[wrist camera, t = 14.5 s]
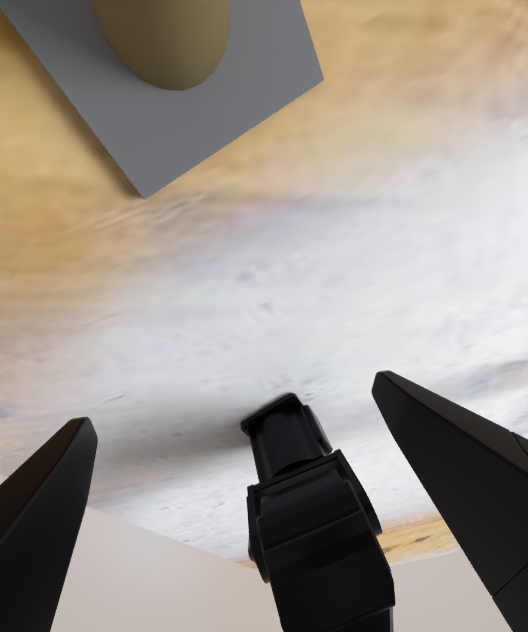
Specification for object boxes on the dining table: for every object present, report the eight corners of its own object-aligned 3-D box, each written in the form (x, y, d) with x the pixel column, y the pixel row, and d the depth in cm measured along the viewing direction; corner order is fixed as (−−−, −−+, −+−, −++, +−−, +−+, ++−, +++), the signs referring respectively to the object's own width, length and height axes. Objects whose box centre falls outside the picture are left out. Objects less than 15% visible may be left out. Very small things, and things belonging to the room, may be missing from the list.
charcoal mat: (146, 197, 17) (144, 199, 16) (-73, -97, 10) (-97, -121, 10) (317, 84, 16) (324, 79, 15) (189, -307, 10) (189, -352, 9)
